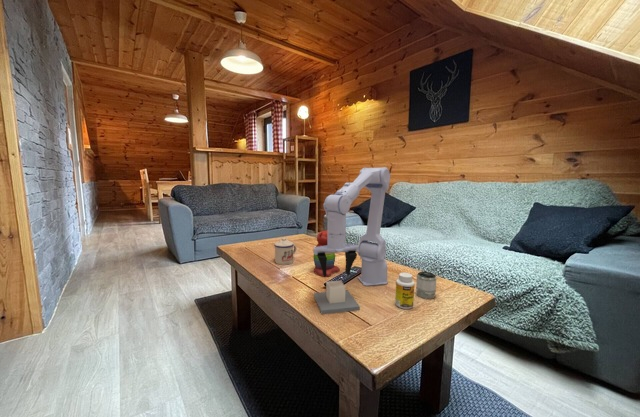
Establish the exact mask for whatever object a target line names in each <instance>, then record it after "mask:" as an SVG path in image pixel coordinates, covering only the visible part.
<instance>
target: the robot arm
mask: <svg viewBox="0 0 640 417" xmlns="http://www.w3.org/2000/svg"><path fill="white" fill-rule="evenodd" d="M390 181H391V172H390V170H389V169H388V167H386V166H383V167H366V166H364V167H363V168H362V169H360V170H359V174H358V176H357V177H356V178H355V179H354V180H353V182H345V183H344V184H343V186H342V187H340V189H337V191H336V192H335V193H334V194H329V195H328V196H326V197H325V200H324V203H323V210H324V211H325V217H326V218H327V225H326V226H327V229H326V230H327V245H325V246H319V247H316V246H313V248H312V249H313V250H312V251H313V252H312V253H313V256H314V255H317V257H318V259H319V261H320V264H321V267H322V272H323V276H324V278H327V277H326V262H327V257H326V255H325V253H335V254H336V253H344V255H345V256H344V257H345V267H344V268H345V275H347V276H349V275H350V274H351V270H352V266H353V263H354V262H355V260H356V258H357V256H359V259H361V267H360V268H361V272H360V273H361V276H357V279H358V280H359V281H360V283H362V285H363V286H364V287H368V286H379V285H387V284H388V263H387V260H386V259H385V258H386V255H387V247H386V245H387V243H386V240H385V239H384V238H383V237H382V235H381V234H380V233H381V226H382V220H383V212H384V203H385V197H386V192H388V191H389V189H390V188H389V187H390ZM364 188H365V189H366V190H368V191H370V193H371V195H370V203H369V204H370V205H369V209H368V210H369V211H368V212H369V213H368V217H367V226H366V233H365V234H363V235H362V236H360V238H359V242H358V244H347V243H346V231H347V228H346V227H347V226H346V225H347V214H348V212H350V209H351V206H352V203H353V202H354V201H355V200H357V198H358V197H359V196H360V193H361V192H360V191H361V190H362V189H364ZM323 276H322V277H323Z"/></svg>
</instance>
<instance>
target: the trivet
mask: <svg viewBox="0 0 640 417" xmlns="http://www.w3.org/2000/svg"><path fill="white" fill-rule="evenodd" d="M313 297H314V299H315V301H316V304H317V307H318V309H319V311H320V313H321V315H327V314H336V313H337V314H338V313H339V314H340V313H345V312H346V313H347V312H353V311H354V312H355V311H356V312H357V311H360V310H361V306H360V305H359V303H358V302H357V301H356V299H355V298H354V297H353V295H352V293H351V292H350V291H349V290H348V289H345V302H338V303H329V301H328V299H327V297H326V291H321V292H314V293H313Z"/></svg>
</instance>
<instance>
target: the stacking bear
mask: <svg viewBox="0 0 640 417" xmlns="http://www.w3.org/2000/svg"><path fill="white" fill-rule="evenodd" d="M316 240H317V244H316V245H315V247H319V246H325V245H327V229H326V230H321V231H320V232H318V233H317V235H316ZM325 255H326V257H327V262H326V277H324V276H323V272H322V267H321V264H320V261H319V259H318V257H317V255H314V254H313V263H314V269H313V272H314V273H315V275H318V276H320V277H324V278H328V277H329V278H330V277H331V276H332V274H335V273H339V272H340V267H339V266H337V265H335V262H336V253H325Z"/></svg>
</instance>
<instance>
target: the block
mask: <svg viewBox="0 0 640 417" xmlns="http://www.w3.org/2000/svg"><path fill="white" fill-rule="evenodd" d="M325 285H326V287H325V289H326V290H325V292H326V297H327V299H328V301H329V303H338V302H345V290H346V286H345V284H344V283H343V281H342V280H334V281H333V280H331V281H326V282H325Z"/></svg>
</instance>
